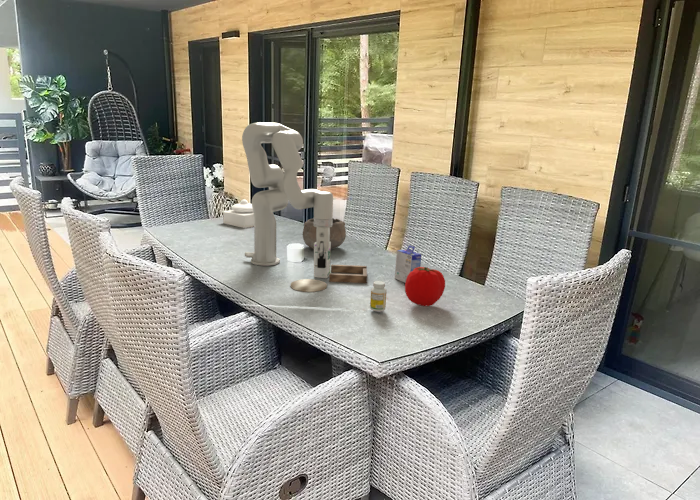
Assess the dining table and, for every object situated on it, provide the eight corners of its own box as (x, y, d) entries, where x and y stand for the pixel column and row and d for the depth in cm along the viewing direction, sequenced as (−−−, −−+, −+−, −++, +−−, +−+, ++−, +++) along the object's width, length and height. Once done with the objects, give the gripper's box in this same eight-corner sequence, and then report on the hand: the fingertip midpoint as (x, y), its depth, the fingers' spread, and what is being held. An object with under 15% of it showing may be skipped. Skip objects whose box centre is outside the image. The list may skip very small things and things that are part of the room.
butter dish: (266, 226, 311) (266, 199, 307) (244, 231, 296) (243, 202, 292) (245, 222, 320) (245, 196, 316) (222, 226, 306) (221, 199, 302)
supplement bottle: (379, 313, 180) (380, 286, 178) (366, 309, 184) (368, 282, 181) (388, 309, 184) (390, 282, 182) (376, 305, 188) (377, 279, 185)
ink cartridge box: (420, 283, 214) (422, 248, 211) (409, 285, 211) (412, 250, 208) (404, 276, 222) (406, 243, 219) (394, 278, 219) (396, 244, 216)
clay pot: (295, 251, 256) (295, 220, 252) (313, 242, 275) (314, 214, 271) (335, 257, 249) (336, 225, 245) (351, 247, 267) (352, 218, 264)
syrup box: (327, 278, 216) (328, 243, 212) (313, 277, 217) (313, 242, 213) (330, 274, 221) (331, 240, 218) (316, 273, 222) (317, 239, 219)
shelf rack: (329, 281, 212) (329, 274, 211) (331, 271, 226) (331, 264, 225) (366, 283, 212) (367, 275, 211) (366, 272, 226) (366, 265, 225)
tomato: (415, 312, 182) (417, 273, 179) (395, 299, 195) (398, 263, 191) (453, 307, 189) (456, 270, 185) (432, 295, 201) (435, 260, 197)
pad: (288, 291, 199) (288, 289, 199) (292, 279, 212) (292, 278, 212) (325, 292, 199) (325, 291, 199) (327, 281, 212) (327, 279, 212)
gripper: (331, 227, 205) (329, 271, 210) (333, 218, 222) (332, 260, 226) (311, 226, 205) (310, 271, 210) (315, 218, 222) (314, 259, 226)
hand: (321, 265), depth 218 cm, fingers closed on syrup box, 6 cm apart
